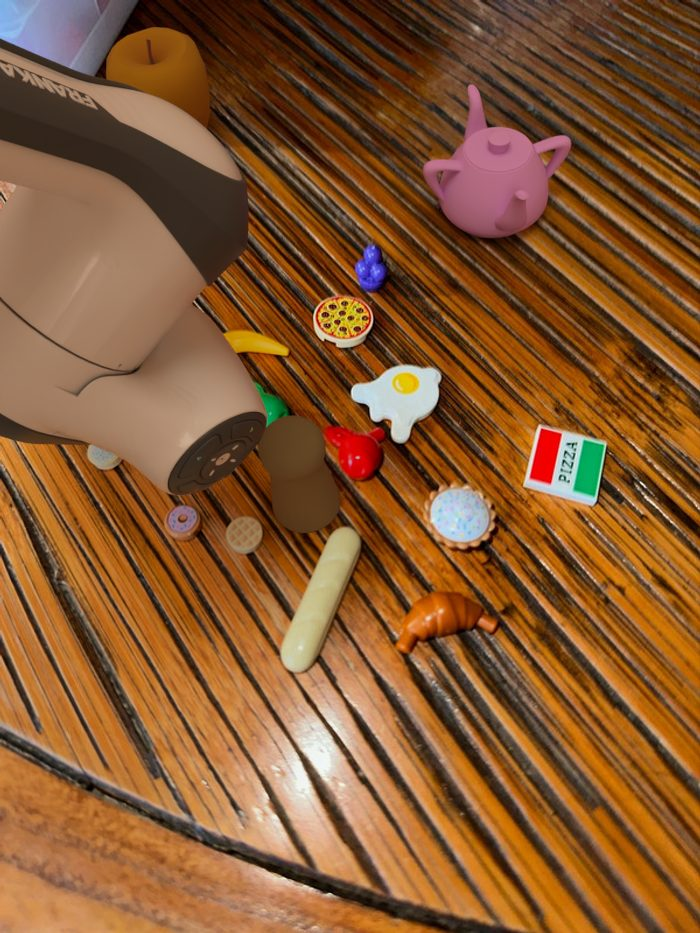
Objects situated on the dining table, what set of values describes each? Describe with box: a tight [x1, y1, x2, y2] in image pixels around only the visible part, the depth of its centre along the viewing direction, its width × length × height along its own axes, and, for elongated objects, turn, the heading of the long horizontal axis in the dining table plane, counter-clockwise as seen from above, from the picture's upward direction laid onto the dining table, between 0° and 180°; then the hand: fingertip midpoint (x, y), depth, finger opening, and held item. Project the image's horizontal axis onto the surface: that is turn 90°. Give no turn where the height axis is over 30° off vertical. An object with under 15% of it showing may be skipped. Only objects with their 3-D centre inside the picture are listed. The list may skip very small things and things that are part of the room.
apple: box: [105, 26, 211, 130], centre depth 85 cm, size 11×11×13 cm
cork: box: [257, 414, 341, 534], centre depth 62 cm, size 6×6×11 cm
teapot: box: [422, 84, 572, 239], centre depth 78 cm, size 12×14×9 cm
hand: (28, 178), depth 56 cm, fingers open, 8 cm apart
